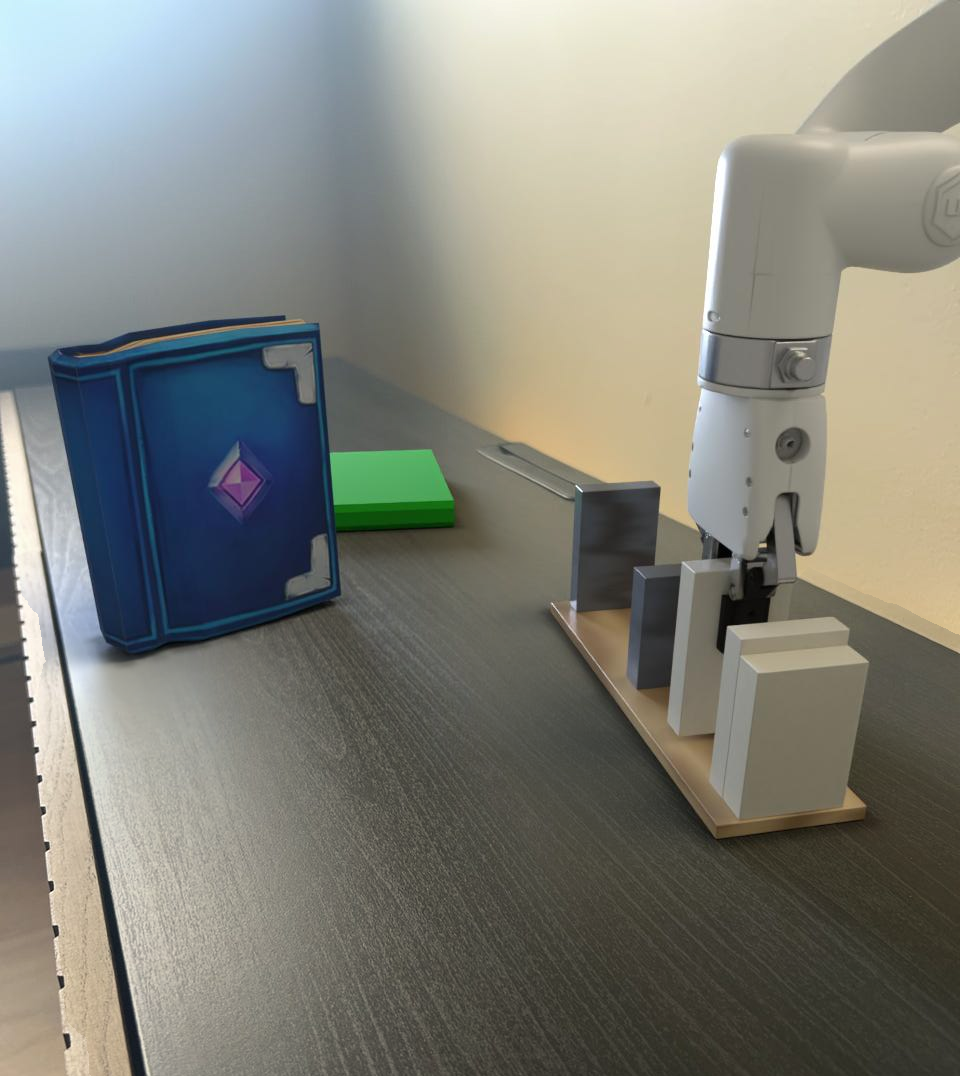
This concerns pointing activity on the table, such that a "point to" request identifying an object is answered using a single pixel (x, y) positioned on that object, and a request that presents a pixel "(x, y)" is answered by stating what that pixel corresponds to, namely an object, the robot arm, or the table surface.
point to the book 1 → (200, 476)
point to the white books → (786, 717)
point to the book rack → (648, 644)
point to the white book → (704, 643)
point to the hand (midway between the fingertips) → (730, 638)
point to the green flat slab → (389, 490)
